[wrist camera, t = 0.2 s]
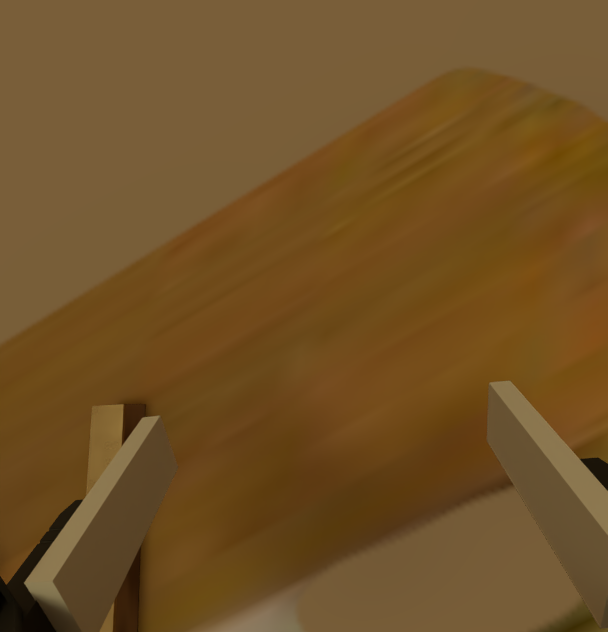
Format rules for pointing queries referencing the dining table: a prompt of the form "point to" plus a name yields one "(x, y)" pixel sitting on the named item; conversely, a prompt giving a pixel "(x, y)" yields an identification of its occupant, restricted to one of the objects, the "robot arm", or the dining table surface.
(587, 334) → the dining table surface
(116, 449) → the stop bar
